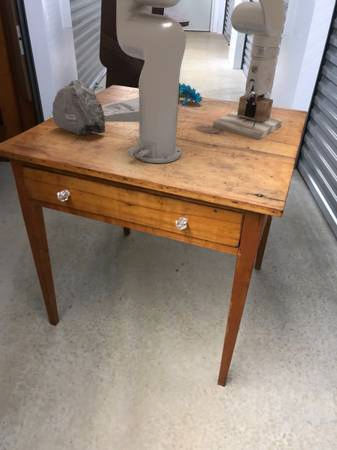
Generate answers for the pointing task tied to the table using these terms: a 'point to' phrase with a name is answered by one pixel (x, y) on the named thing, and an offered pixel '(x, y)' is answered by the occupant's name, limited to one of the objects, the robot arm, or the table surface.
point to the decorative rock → (78, 109)
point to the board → (247, 125)
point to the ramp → (122, 111)
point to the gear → (189, 94)
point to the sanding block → (261, 108)
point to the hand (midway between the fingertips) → (253, 114)
